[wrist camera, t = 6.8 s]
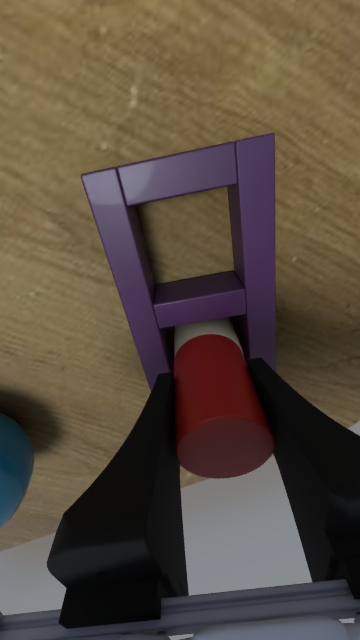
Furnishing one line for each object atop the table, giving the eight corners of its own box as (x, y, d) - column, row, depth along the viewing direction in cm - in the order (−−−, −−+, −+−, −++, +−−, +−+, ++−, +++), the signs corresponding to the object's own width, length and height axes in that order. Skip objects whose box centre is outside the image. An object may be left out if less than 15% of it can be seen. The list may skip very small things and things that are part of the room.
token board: (255, 137, 12) (275, 132, 10) (265, 423, 21) (276, 453, 19) (95, 172, 12) (79, 174, 10) (174, 436, 22) (175, 467, 19)
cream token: (244, 324, 16) (258, 354, 14) (208, 363, 18) (215, 396, 15) (197, 294, 15) (202, 320, 13) (162, 338, 17) (161, 370, 14)
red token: (257, 354, 14) (296, 440, 10) (214, 396, 15) (231, 488, 11) (201, 321, 13) (217, 401, 8) (160, 370, 14) (156, 460, 10)
